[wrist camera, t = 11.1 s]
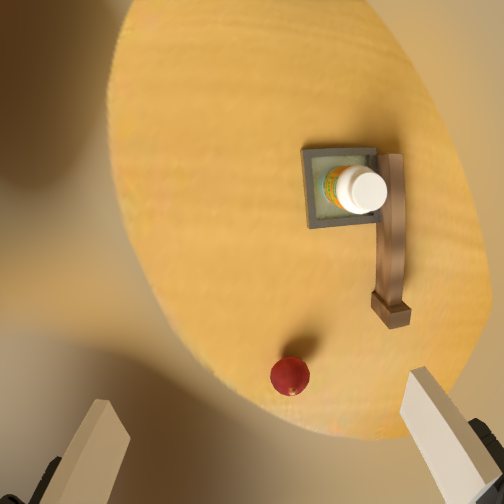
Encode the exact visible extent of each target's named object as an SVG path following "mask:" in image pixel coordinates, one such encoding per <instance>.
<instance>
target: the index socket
mask: <svg viewBox="0 0 504 504" xmlns="http://www.w3.org/2000/svg"><path fill="white" fill-rule="evenodd" d="M300 153H301V162H302V172H303V182H304V193H305V205H306V217H307V227H308V228H309V229H316V228H326V227H336V226H346V225H357V224H367V223H378V222H381V214H380V208H379V209H377V210H374V211H370V212H368V213H365V214H355V213H352V212H349V211H347V210H344V209H342V208H340V207H337V206H335V205H333V204H332V203H330V202H329V201H328V200H327V199H326V197H325V195H324V193H323V187H322V185H323V179H324V177H325V175H326V174H327V172H328V171H329V170H331V169H332V168H334V167H337V166H350V165H361V166H365V167H368V168H370V169H371V170H373V171H374V172H375V173H376V174H378V162H377V151H376V147H356V148H324V149H306V150H300ZM378 175H379V174H378Z"/></svg>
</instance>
